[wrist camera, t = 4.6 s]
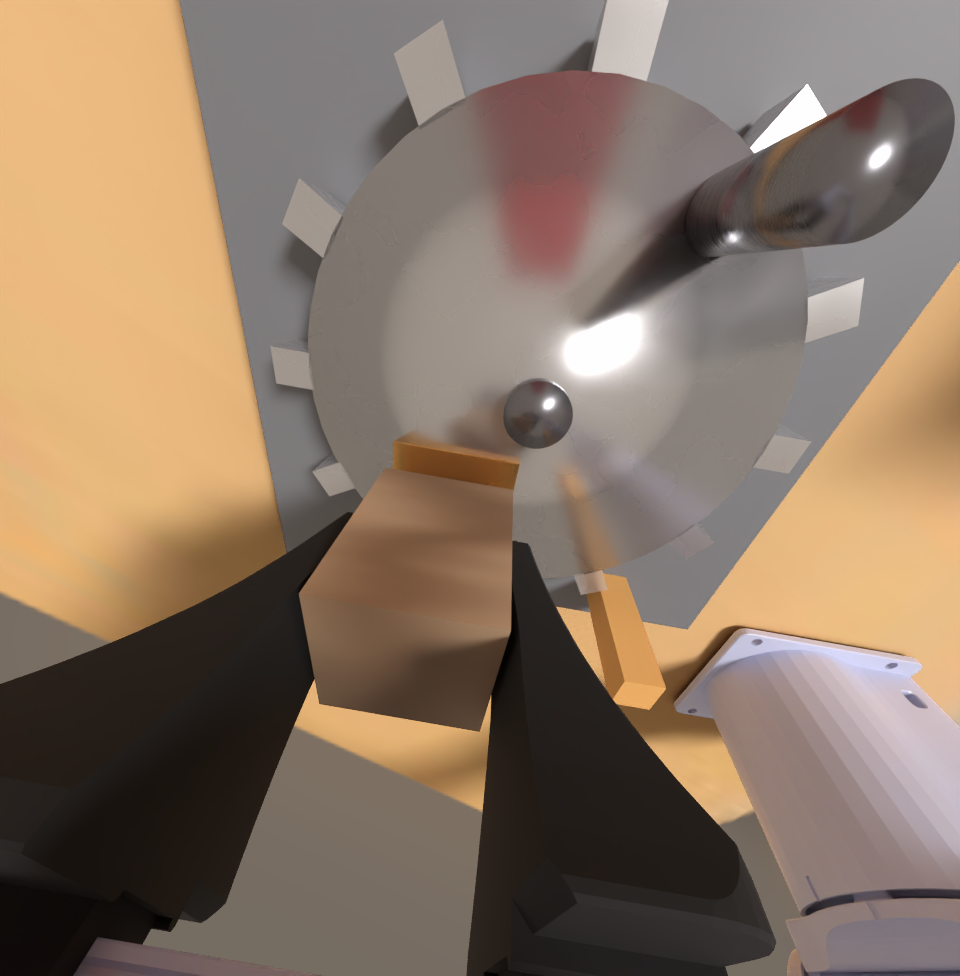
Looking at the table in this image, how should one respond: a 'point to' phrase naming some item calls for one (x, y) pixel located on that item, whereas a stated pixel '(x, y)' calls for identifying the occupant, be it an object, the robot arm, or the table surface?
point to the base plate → (537, 50)
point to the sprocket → (592, 288)
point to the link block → (414, 601)
